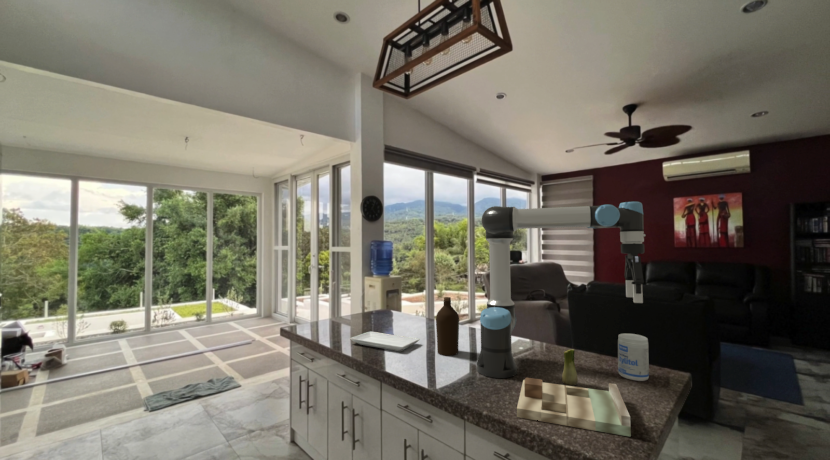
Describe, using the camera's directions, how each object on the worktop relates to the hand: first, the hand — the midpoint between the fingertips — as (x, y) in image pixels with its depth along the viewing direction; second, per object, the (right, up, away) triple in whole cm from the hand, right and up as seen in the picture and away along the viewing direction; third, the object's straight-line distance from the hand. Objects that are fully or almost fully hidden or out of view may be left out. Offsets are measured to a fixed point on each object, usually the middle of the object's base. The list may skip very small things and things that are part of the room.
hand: (634, 299), depth 129 cm
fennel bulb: (-28, -28, -8) cm, 40 cm away
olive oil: (-67, -30, +28) cm, 78 cm away
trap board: (-36, -27, -26) cm, 52 cm away
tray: (-97, -31, +41) cm, 110 cm away
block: (-45, -25, -22) cm, 56 cm away
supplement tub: (-1, -28, -2) cm, 28 cm away
